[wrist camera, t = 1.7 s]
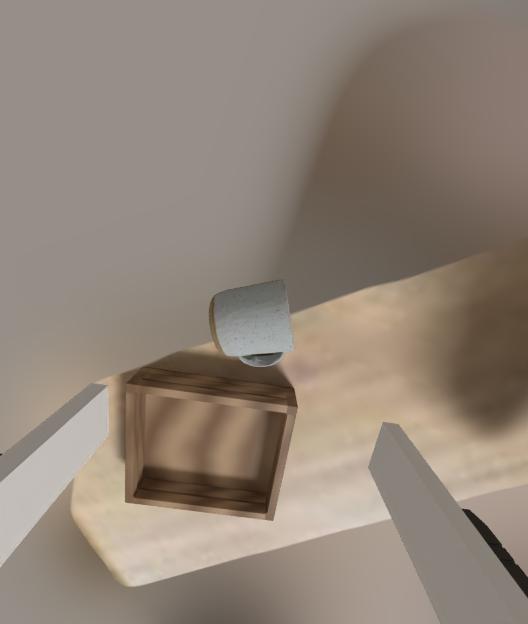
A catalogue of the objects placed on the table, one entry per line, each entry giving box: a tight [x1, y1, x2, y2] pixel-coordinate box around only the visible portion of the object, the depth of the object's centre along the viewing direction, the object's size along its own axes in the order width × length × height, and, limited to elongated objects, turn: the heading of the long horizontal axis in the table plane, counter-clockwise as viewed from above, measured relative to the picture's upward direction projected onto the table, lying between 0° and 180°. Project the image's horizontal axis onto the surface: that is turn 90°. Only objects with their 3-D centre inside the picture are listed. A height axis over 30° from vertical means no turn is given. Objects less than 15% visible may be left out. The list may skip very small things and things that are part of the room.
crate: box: [125, 367, 298, 521], centre depth 33 cm, size 20×18×4 cm
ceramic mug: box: [209, 280, 295, 367], centre depth 27 cm, size 11×8×8 cm
